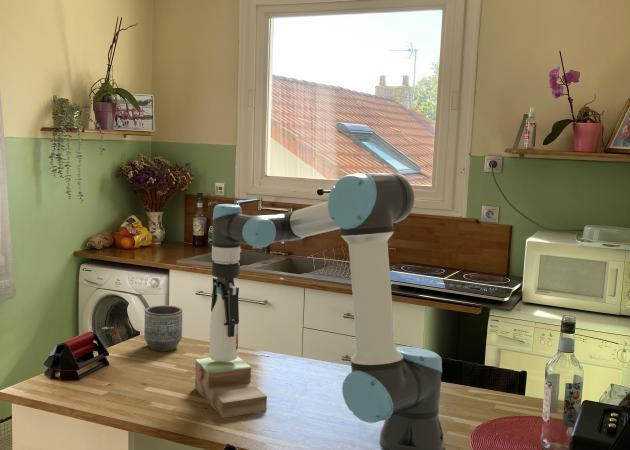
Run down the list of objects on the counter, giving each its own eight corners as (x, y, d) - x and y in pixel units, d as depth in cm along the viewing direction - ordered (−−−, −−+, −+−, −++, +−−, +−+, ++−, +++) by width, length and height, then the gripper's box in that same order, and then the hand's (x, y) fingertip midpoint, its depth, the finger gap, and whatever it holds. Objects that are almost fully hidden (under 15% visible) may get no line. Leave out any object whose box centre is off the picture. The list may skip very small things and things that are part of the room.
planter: (187, 350, 230) (187, 312, 229) (150, 355, 224) (151, 316, 223) (174, 340, 241) (175, 303, 239) (139, 344, 235) (139, 306, 233)
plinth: (268, 410, 184) (269, 379, 183) (220, 418, 178) (221, 386, 177) (237, 382, 203) (238, 354, 202) (193, 388, 197) (193, 359, 196)
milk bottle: (232, 363, 190) (234, 290, 187) (205, 360, 191) (206, 288, 189) (241, 355, 197) (243, 285, 195) (214, 352, 199) (216, 282, 196)
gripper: (253, 267, 183) (250, 352, 186) (225, 254, 201) (223, 332, 204) (226, 269, 180) (224, 355, 183) (200, 255, 198) (198, 334, 201)
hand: (223, 343), depth 194 cm, fingers closed on milk bottle, 8 cm apart
